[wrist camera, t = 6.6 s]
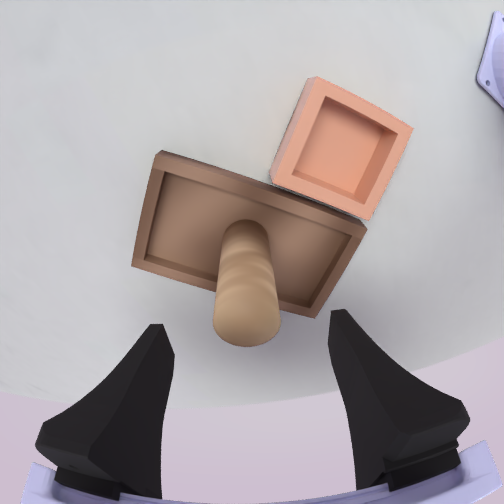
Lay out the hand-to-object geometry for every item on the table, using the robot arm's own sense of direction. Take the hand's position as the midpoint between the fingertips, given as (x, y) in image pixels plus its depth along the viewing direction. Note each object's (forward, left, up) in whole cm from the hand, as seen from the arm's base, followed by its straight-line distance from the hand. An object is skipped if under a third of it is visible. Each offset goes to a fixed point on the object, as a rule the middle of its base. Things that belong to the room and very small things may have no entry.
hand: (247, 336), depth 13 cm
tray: (0, 0, -9) cm, 9 cm away
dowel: (0, 0, -9) cm, 9 cm away
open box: (-3, -8, -9) cm, 13 cm away
